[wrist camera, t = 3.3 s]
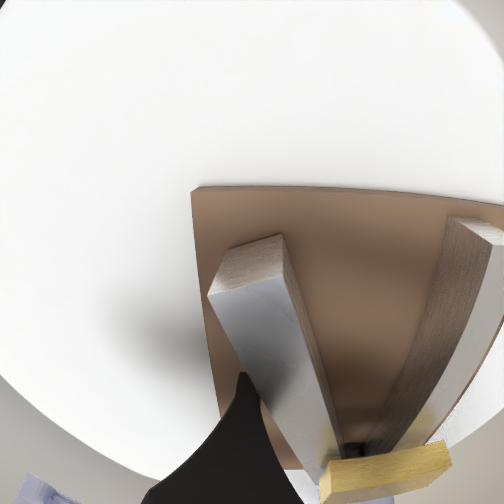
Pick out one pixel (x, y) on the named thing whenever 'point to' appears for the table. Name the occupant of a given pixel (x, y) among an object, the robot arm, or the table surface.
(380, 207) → the walnut board
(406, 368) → the fixed tong arm
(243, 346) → the bar
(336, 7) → the table surface
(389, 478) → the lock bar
